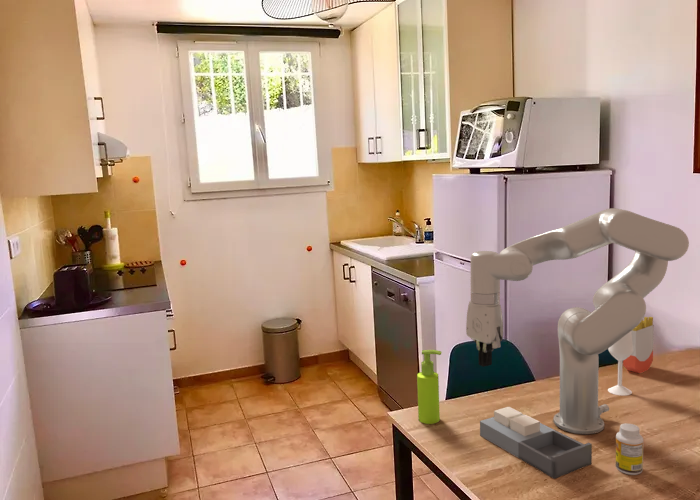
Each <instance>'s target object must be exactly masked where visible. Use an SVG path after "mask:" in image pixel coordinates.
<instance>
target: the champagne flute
mask: <svg viewBox="0 0 700 500" xmlns="http://www.w3.org/2000/svg"><path fill="white" fill-rule="evenodd" d="M607 350H608V352H609V354H610V355H611V356H612V358H614V359H615V360H617V384H616V385H614V386H612V387H609V388H607V392H609V393H610V394H611V395H612V394H613V395H616V396H630V395H632V393H633V391H632V390H631V389H629V388H627V387H626V386H624V385H623V360H625V359H627V358H628V357H629V356H630V355H631V354H632V352H633V345H632V334H631V331H630V332H629V333H628V334H626V335H625V336H624V337H623V338H621V339H620V340H619V341H617V342H616V343H615V344H613V345H612V346H611V347H609V348H608V349H607Z"/></svg>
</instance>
